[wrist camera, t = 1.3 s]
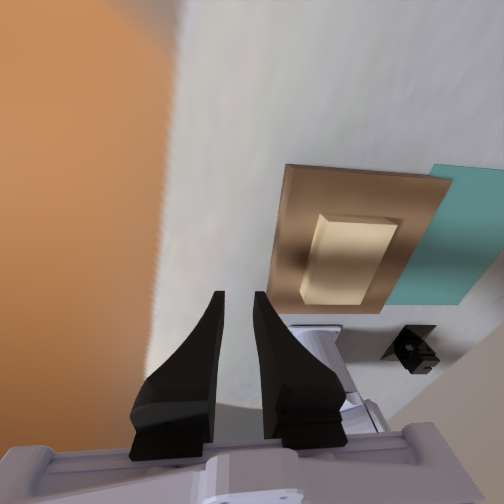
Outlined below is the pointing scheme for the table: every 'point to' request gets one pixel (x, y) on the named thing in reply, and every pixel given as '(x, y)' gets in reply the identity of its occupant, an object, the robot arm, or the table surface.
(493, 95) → the table surface
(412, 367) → the black slotted bracket
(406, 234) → the walnut board
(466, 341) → the table surface
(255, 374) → the table surface
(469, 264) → the teal mat
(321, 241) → the beech tile
